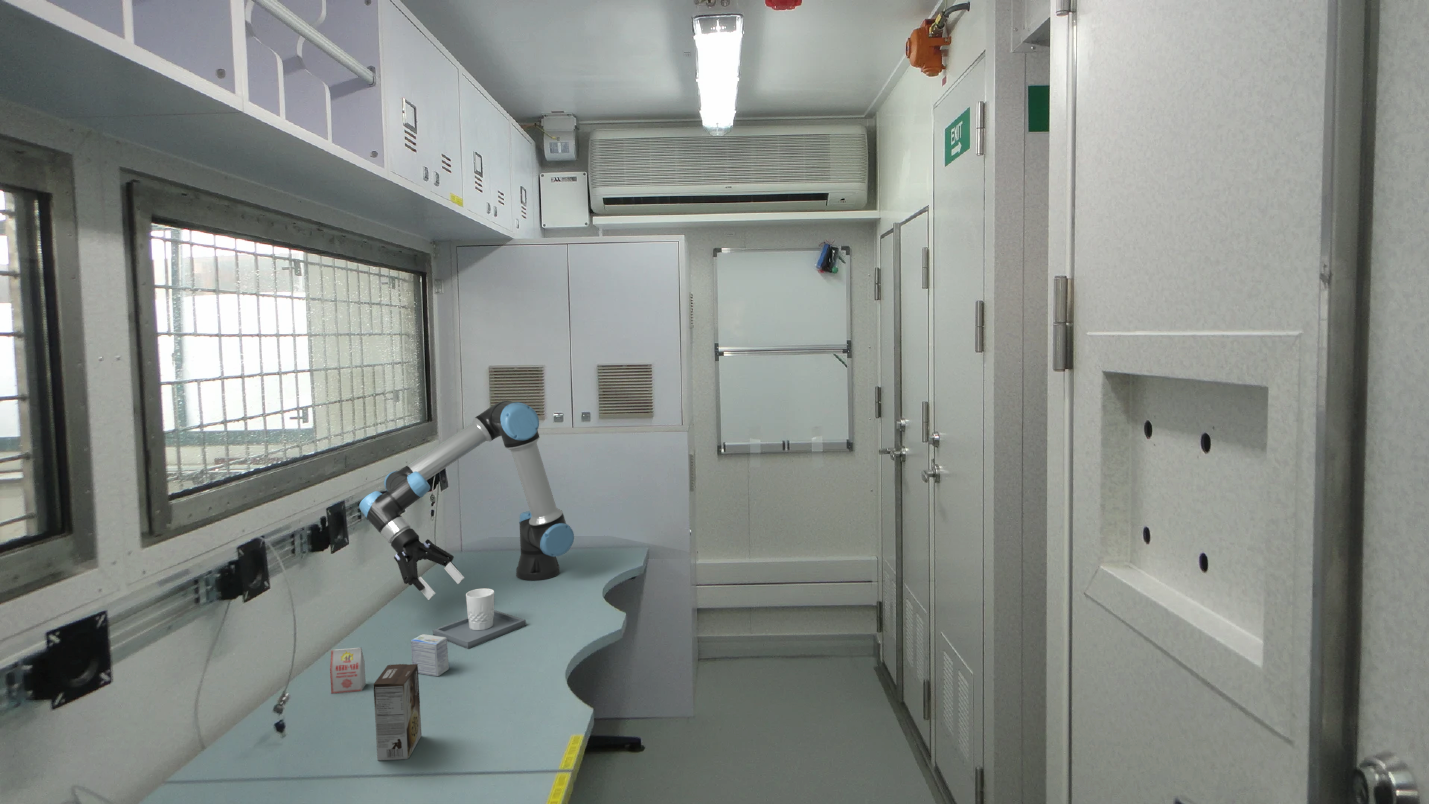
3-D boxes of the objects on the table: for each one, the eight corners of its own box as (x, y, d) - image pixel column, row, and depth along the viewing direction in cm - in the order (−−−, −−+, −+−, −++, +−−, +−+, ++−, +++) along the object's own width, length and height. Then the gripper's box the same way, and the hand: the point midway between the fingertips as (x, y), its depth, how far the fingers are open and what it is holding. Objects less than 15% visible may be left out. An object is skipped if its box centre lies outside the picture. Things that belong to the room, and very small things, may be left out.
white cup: (499, 621, 224) (498, 588, 223) (489, 631, 216) (488, 597, 215) (473, 620, 224) (472, 588, 223) (462, 631, 216) (461, 597, 215)
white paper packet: (336, 686, 184) (333, 647, 183) (365, 684, 185) (363, 644, 184) (331, 693, 180) (329, 653, 179) (361, 691, 182) (359, 650, 181)
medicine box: (449, 670, 193) (447, 637, 192) (437, 677, 188) (436, 643, 188) (424, 665, 195) (422, 633, 194) (411, 673, 191) (410, 640, 190)
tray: (491, 614, 231) (490, 608, 231) (525, 625, 222) (525, 619, 221) (433, 635, 215) (432, 629, 215) (467, 648, 205) (467, 642, 205)
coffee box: (391, 737, 160) (387, 664, 159) (422, 735, 161) (419, 662, 159) (375, 761, 151) (371, 683, 150) (408, 759, 152) (405, 682, 150)
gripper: (421, 533, 237) (465, 582, 234) (363, 556, 214) (411, 612, 211) (434, 517, 235) (479, 567, 232) (377, 539, 212) (426, 595, 209)
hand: (447, 588), depth 222 cm, fingers open, 13 cm apart
